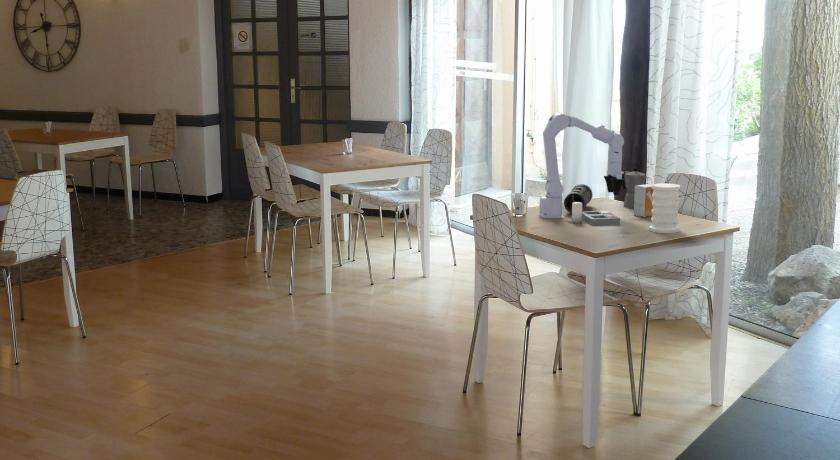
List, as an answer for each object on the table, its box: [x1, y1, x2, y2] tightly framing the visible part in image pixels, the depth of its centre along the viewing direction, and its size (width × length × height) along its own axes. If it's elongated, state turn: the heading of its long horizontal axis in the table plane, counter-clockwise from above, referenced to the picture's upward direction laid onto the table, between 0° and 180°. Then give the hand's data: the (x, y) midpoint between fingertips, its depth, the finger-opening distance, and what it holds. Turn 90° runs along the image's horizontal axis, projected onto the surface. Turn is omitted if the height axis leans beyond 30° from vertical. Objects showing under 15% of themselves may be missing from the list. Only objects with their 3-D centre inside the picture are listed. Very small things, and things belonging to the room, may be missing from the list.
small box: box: [633, 183, 653, 218], centre depth 401 cm, size 8×6×13 cm
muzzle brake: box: [563, 183, 594, 214], centre depth 414 cm, size 10×28×10 cm, turn 163°
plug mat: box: [566, 220, 588, 225], centre depth 385 cm, size 7×7×1 cm
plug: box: [571, 202, 583, 223], centre depth 384 cm, size 4×4×8 cm
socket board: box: [582, 210, 621, 226], centre depth 388 cm, size 12×18×3 cm, turn 6°
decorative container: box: [648, 182, 681, 234], centre depth 368 cm, size 12×12×18 cm
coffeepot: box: [621, 166, 648, 209], centre depth 423 cm, size 15×9×18 cm, turn 33°
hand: (613, 193), depth 398 cm, fingers open, 7 cm apart
